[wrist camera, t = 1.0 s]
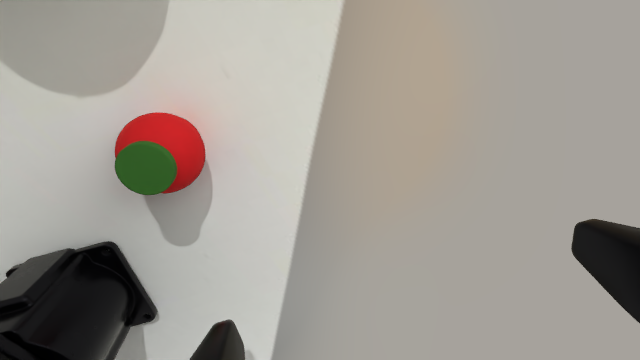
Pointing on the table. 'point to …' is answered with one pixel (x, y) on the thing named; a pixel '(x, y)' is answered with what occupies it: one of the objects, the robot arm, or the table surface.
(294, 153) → the table surface
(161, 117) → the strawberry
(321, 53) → the table surface
